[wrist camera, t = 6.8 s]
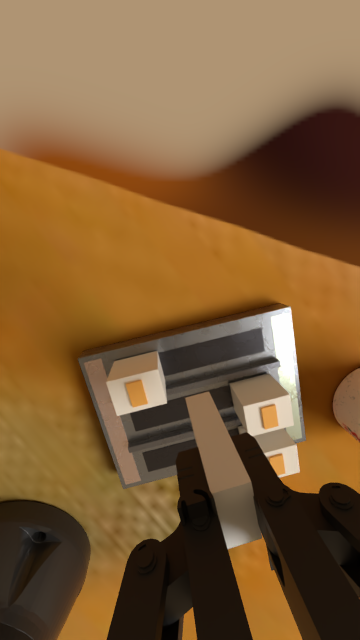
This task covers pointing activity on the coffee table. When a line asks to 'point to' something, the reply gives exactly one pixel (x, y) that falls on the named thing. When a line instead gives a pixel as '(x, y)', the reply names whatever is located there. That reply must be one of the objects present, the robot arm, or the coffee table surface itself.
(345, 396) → the teacup with lid
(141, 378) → the breaker
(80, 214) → the coffee table surface
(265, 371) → the panel
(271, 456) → the breaker
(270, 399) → the breaker
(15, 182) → the coffee table surface
